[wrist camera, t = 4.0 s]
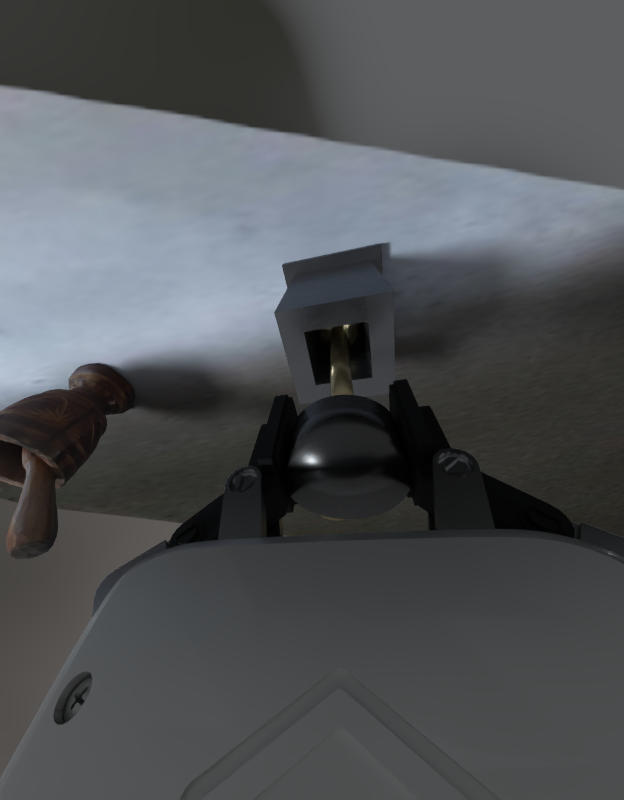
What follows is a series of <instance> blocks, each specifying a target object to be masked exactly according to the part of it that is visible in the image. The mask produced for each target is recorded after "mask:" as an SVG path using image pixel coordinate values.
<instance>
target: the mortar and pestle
mask: <svg viewBox="0 0 624 800" xmlns="http://www.w3.org/2000/svg"><path fill="white" fill-rule="evenodd" d="M69 389H70V390H63V389H55V390H49V391H46V392H43V393H41V394H36V395H33V396H30V397H27V398H24V399H22V400H20V401H18V402H16V403H14V404H12V405H10V406H8V407H7V408H5V409H4V410H2V411H0V480H1V481H4V482H6V483H9V484H11V485H15V486H19V487H22V488H23V490H22V493H21V496H20V499H19V503H18V505H17V508H16V510H15V513H14V516H13V518H12V520H11V525H10V528H9V531H8V535H7V550H8V552H9V554H10V555H11V556H12V557H14V558H16V559H30V558H33V557H36V556H38V555H41V554H43V553H45V552H47V551H48V550H49V549H50V548H51V546H53V544H54V541H55V539H56V536H57V531H58V518H57V506H56V493H55V489H58V488H60V487H62V486H63V485H65V484H66V482H67V481H68V480H69V479H70V478H71V477H72V476H73V475H74V474H75V473H76V471H77V470H78V469H79V468H80V467H81V466H82V465H83V464H84V463H85V462H86V460H87V459H88V458H89V457H90V455H91V454H92V453H93V451H94V450H95V448H96V447H97V444H98V442H99V439H100V437H101V436H102V435H103V434H104V432H105V430H106V427H107V419H106V416H105V415H109V414H119V413H124V412H125V411H127V410H129V409H130V408H131V406H132V405H133V401H134V393H133V390H132V387H131V386H130V384H129V383H128V382H127V381H126V380H125V379H124V378H123V377H122V376H120V375H119V374H117V373H116V372H114V371H113V370H111V369H109V368H106V367H104V366H101V365H96V364H89V365H83V366H80V367H78V368H77V369H76V370H75V371H74V373H73V374H72V375H71V376H70V378H69Z"/></svg>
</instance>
